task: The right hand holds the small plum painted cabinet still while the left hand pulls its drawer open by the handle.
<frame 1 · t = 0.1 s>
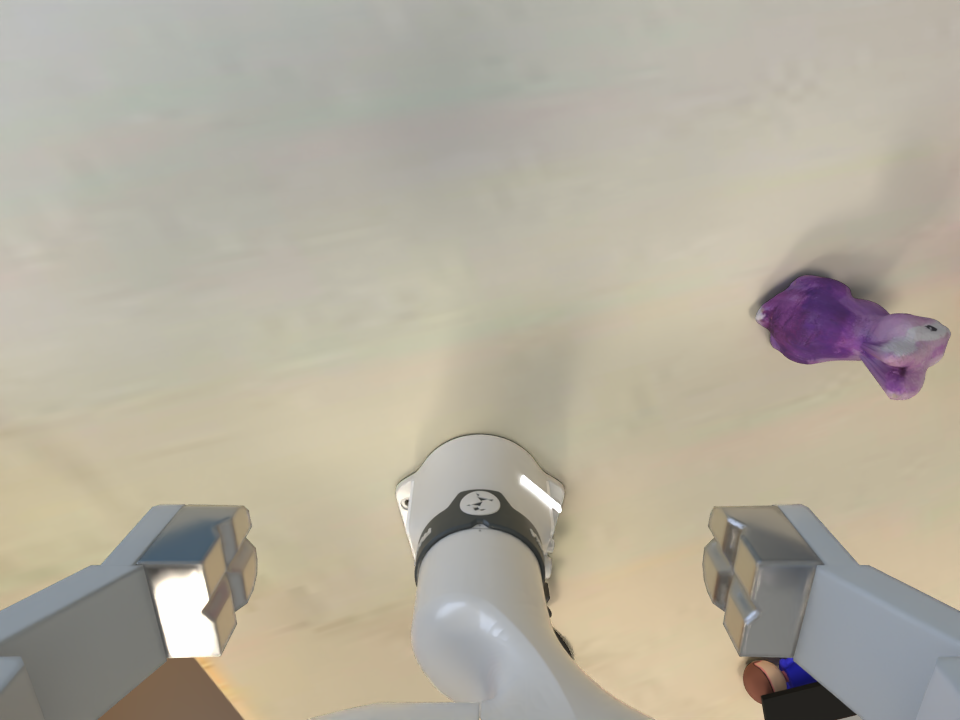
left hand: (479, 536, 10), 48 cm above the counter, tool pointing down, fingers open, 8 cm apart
figurine character: (796, 655, 75), on the counter
figurine: (810, 309, 59), on the counter
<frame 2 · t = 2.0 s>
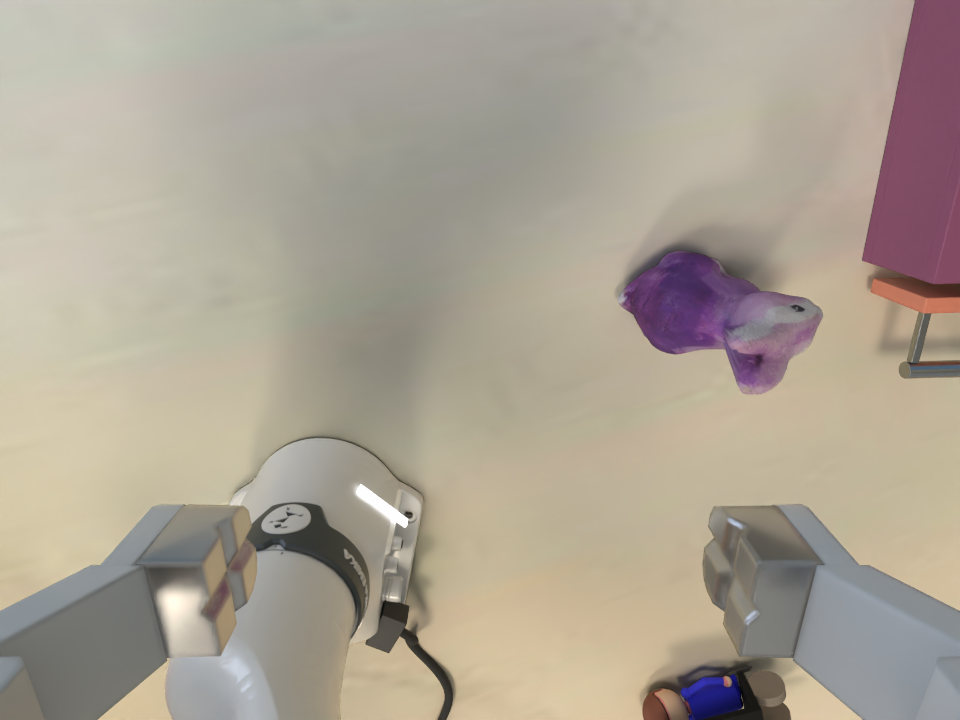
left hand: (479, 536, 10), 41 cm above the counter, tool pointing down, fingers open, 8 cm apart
figurine character: (703, 682, 67), on the counter
figurine: (686, 291, 51), on the counter
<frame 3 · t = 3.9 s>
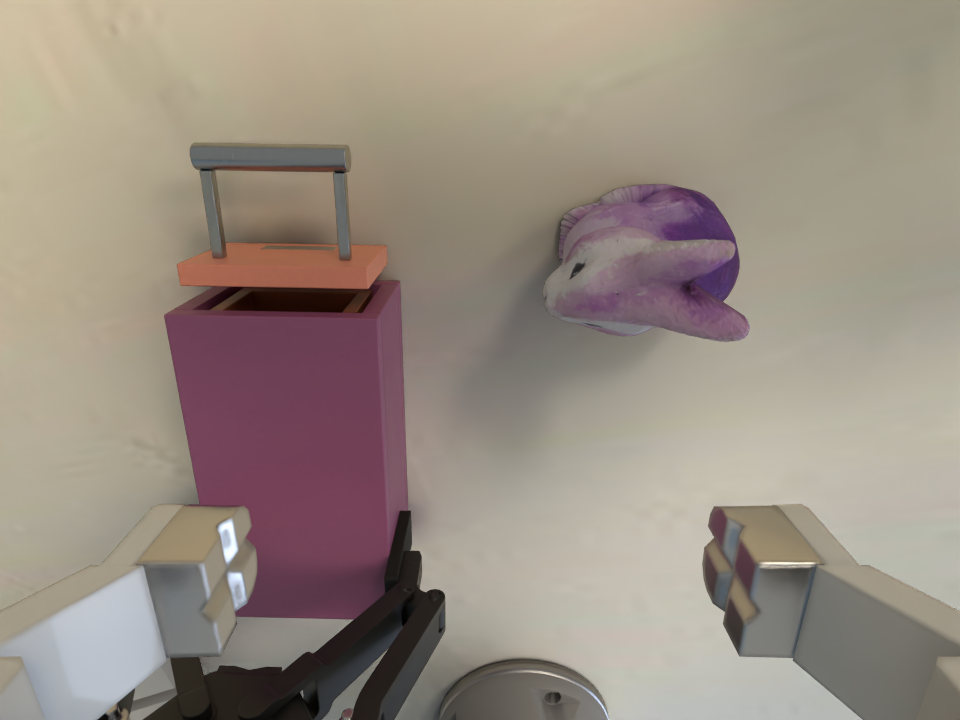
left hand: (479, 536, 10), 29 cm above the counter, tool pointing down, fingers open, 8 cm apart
toy: (49, 669, 52), on the counter
cabinet: (327, 418, 43), on the counter, touching right hand
figurine: (625, 250, 38), on the counter
drawer: (301, 360, 36), point 4 cm above the counter, slide at 1.3 cm
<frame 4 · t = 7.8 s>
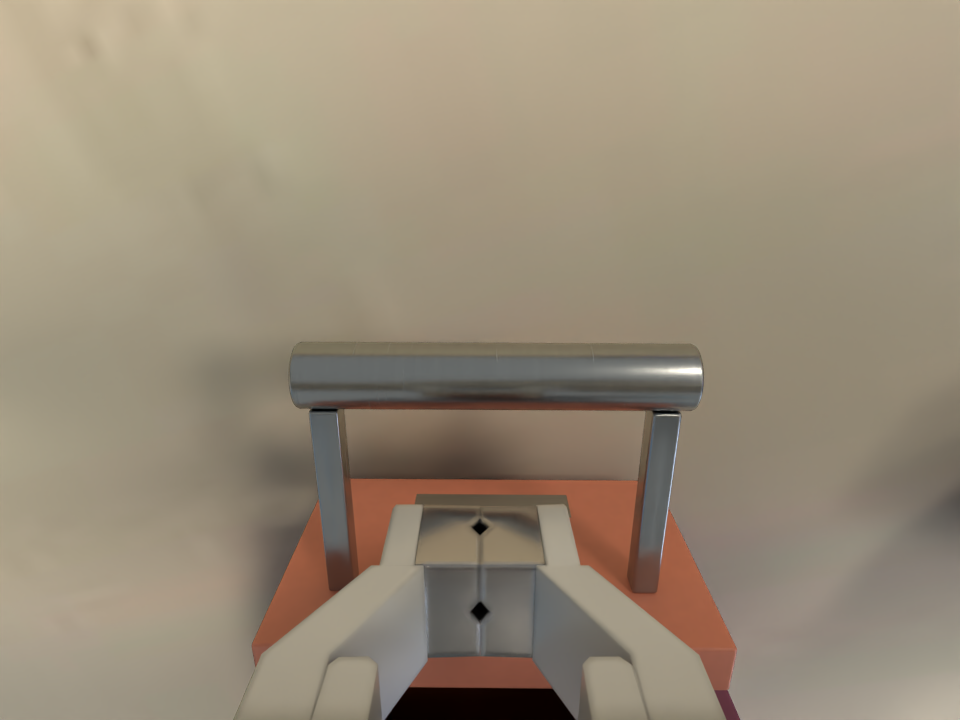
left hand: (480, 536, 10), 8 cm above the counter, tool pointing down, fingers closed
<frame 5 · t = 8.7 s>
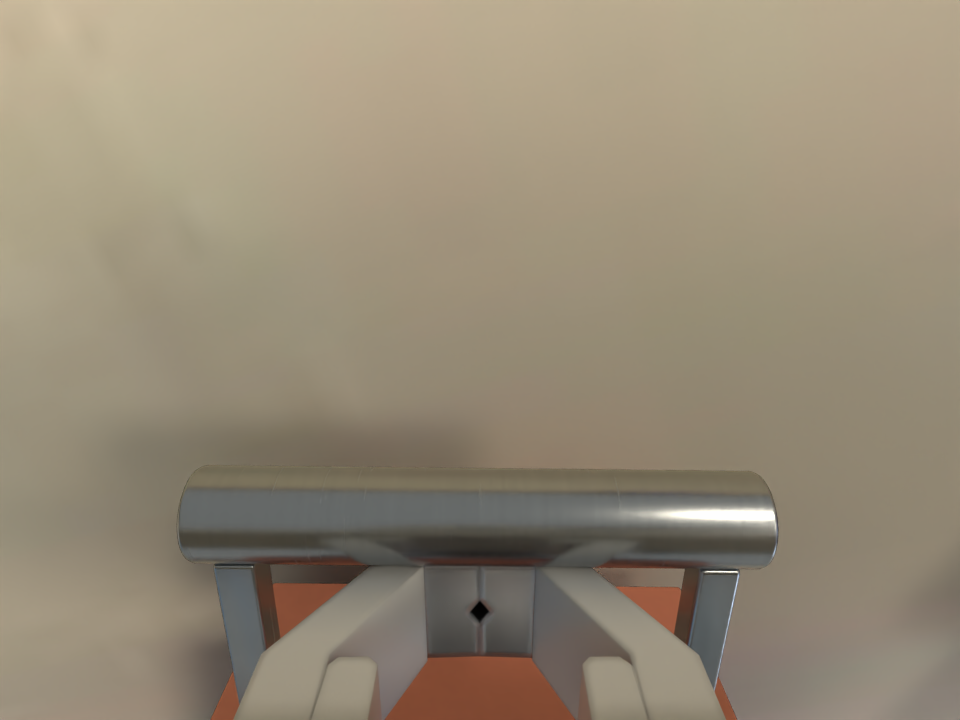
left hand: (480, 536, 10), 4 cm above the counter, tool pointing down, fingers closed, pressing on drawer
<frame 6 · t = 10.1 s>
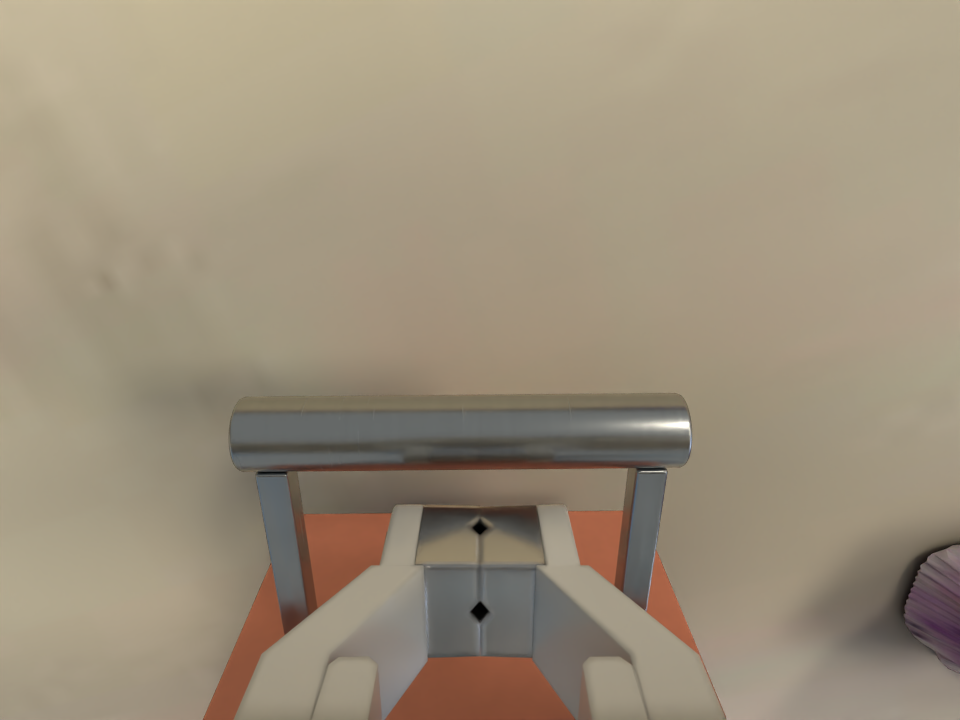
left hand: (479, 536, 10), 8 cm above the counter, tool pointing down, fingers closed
when the right hand's fingers open (4 cm above the counter, at t = 11.5 s): cabinet stays where it is, on the counter.
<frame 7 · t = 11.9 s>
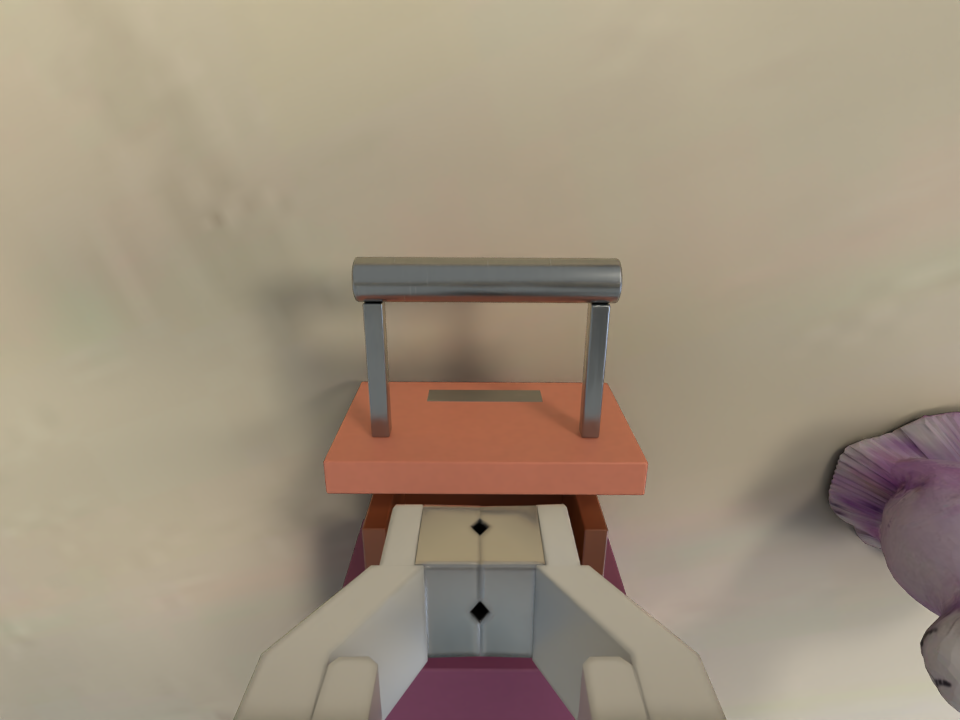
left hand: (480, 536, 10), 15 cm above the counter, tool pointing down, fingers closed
cabinet: (481, 679, 31), on the counter
figurine: (919, 487, 27), on the counter
drawer: (483, 565, 24), point 4 cm above the counter, slide at 6.3 cm
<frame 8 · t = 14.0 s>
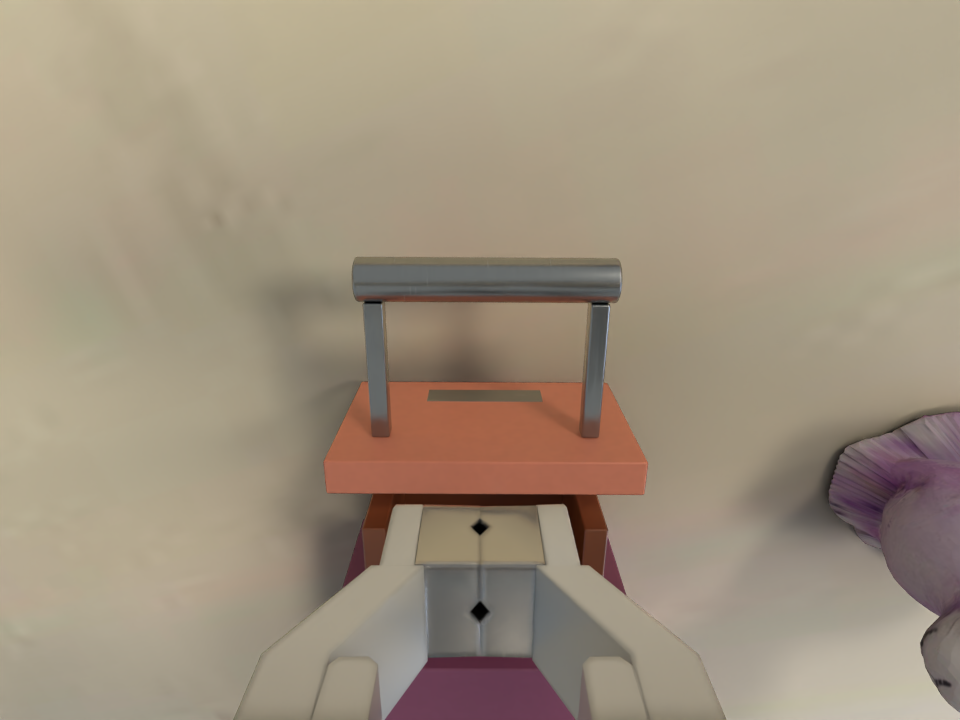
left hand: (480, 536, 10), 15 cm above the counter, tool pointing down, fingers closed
cabinet: (481, 680, 31), on the counter
figurine: (919, 487, 27), on the counter
drawer: (483, 565, 24), point 4 cm above the counter, slide at 6.3 cm
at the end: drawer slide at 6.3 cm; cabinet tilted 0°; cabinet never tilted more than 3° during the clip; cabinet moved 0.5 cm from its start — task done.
